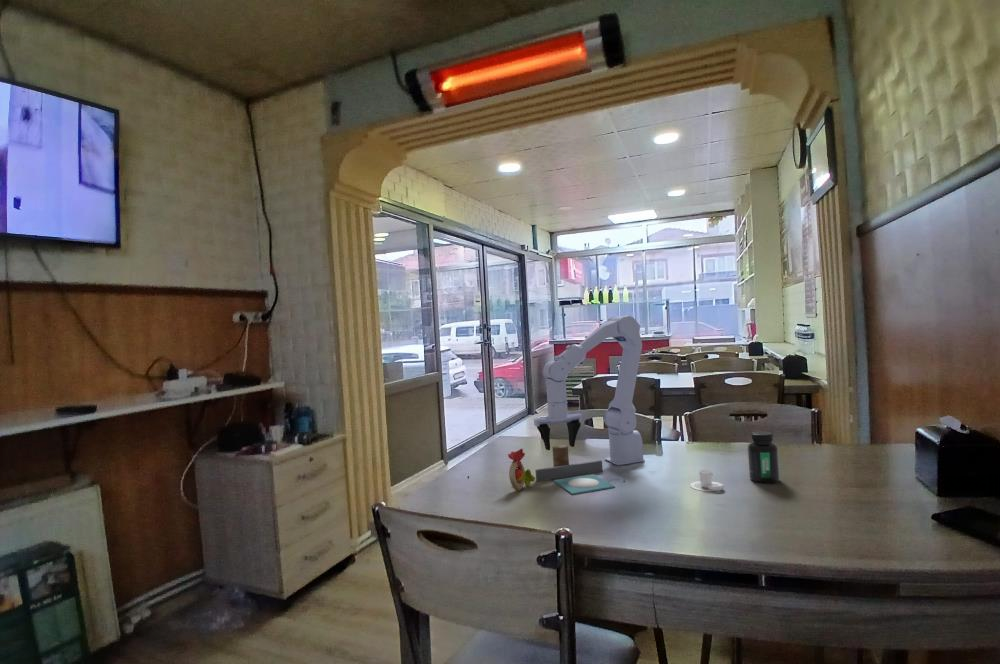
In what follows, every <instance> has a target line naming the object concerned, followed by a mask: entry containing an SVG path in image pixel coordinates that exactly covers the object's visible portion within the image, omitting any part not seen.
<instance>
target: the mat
mask: <svg viewBox="0 0 1000 664" xmlns="http://www.w3.org/2000/svg"><path fill="white" fill-rule="evenodd" d="M553 482H554V483H555V484H556V485H557V486H559V487H561V489H563V490H565V491H566V492H568V493H569V495H580V494H584V493H591V492H595V491H596V492H597V491H602V490H608V489H615V488H616V487H615V485H614V484H612V483H610V482H609V481H607V480H605V479H603V478H602V477H599V476H598V475H596V474H595V473H594V474H593V473H590V474H584V475H578V476H571V477H565V478H558V479H553Z"/></svg>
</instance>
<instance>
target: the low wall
mask: <svg viewBox="0 0 1000 664" xmlns="http://www.w3.org/2000/svg"><path fill="white" fill-rule="evenodd" d="M534 472H535V481H536V482H542V481H543V482H544V481H548V480H557V479H564V478H570V477H576V476H583V475H589V474H593V473H594V474H595V473H599V472H603V460H601V459H599V460H593V461H585V462H579V463H572V464H571V463H570V464H569V465H564V466H557V467H554V466H553V467H545V468H538V469H537V468H536V469H535V471H534Z"/></svg>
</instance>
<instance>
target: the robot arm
mask: <svg viewBox="0 0 1000 664" xmlns="http://www.w3.org/2000/svg"><path fill="white" fill-rule="evenodd" d="M640 328H641V325H640V323H639V322H638V321H637V320H636V318H635V317H633V316H632V315H631V316H630V315H625V316H611V317H610V318H609V317H608V319H607V320H605V321H603V322H602V323H600V325H599V326H598V327H597V328H596V329H595V330H594V331H592V332H591V333H590V334H589V335H588V336H587V337H586V338H584V340H582V341H581V342H580V343H579V344H577V343H576V344H575V343H573V344H568V345H567V346H565V350H564V351H563V352H562V353H560V354H559V355H555V356H554V357H553V358H554V359H553V360H550V361H548V362H546V363H545V364H544V367H543V370H542V371H541V373H542V375H543V377H544V378H545V380H546V381H545V382H546V401H547V415H548V416H543V417H538V418H533V425H534V426H535V427H536V429H537V430H538V432H539V434H540V436H541V438H542V440H543V443H544V448H545V450H547V451H550V450H551V441H550V437H551V435H550V434H551V428H550V426H549V425H555V424H556V425H557V424H564V423H566V426H567V431H568V444H569V445H568V446H569V447H572V448H575V444H576V439H577V435H578V433H579V431H580V428H581V426H582V425H581V422H583V414H581V413H569V412H568V398H567V383H566V381H567V380H566V379H567V378H568V376H569V374H570V372H571V371H572V370H574V369H575V368H576V367H577V366H578V365H580V364H581V363H583V361H585V360H586V358H587V357H586V356H587V353H588V352H589V351H592V349H594V348H595V347H596V346H598V345H600V344H601V343H602V342H604V341H605V340H606V339H609V338H610V339H611V338H612V339H614V340H615V341H616V342H618V344H619V345H620V347H621V348H622V355H621V359H620V365H619V370H618V376H617V382H616V387H615V393H614V398H613V399H612V400H611V401H610V402H609V404H608V408H607V410H606V411H605V413H604V415H603V421H604V424H605V425H606V426H607V429H608V440H609V444H608V445H609V456H608V457H605V458H604V460H605V461H607V462H609V463H612V464H613V465H616V466H622V465H623V466H624V465H629V464H636V463H642V462H646V460H645V459H644V447H643V438H642V435H641V433H640V431H638V430H635V429H636V427H637V424H638V423H637V417H636V413H637V412H636V411H637V409H636V407H635V405H634V403H633V400H634V399H633V398H634V394H635V389H636V383H637V376H638V371H639V366H640V361H641V356H642V350H643V341H642V338H641V333H640Z"/></svg>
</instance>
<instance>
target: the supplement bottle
mask: <svg viewBox="0 0 1000 664" xmlns="http://www.w3.org/2000/svg"><path fill="white" fill-rule="evenodd" d="M750 436H751V438H750V439H751V441H752V442H750V443H749V444H748V446H747V452H748V453H747V454H748V455H747V457H748V473H749V478H750V480H751V481H753V482H755V483H759V484H767V485H770V484H776V483H778V482H779V481H780V463H779V448H778V446H777V444H775V443H774V437H773V433H772V432H770V431H765V430H764V431H763V430H757V431H752V432H751V433H750Z"/></svg>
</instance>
